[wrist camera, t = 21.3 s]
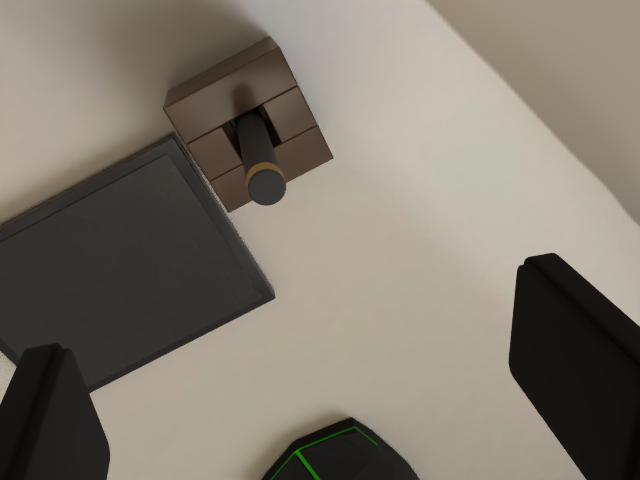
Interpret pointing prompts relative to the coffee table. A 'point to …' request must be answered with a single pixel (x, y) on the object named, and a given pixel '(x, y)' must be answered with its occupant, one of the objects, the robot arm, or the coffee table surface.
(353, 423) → the computer mouse
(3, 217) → the coffee table surface
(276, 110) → the holder
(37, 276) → the tablet
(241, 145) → the stylus
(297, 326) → the coffee table surface
